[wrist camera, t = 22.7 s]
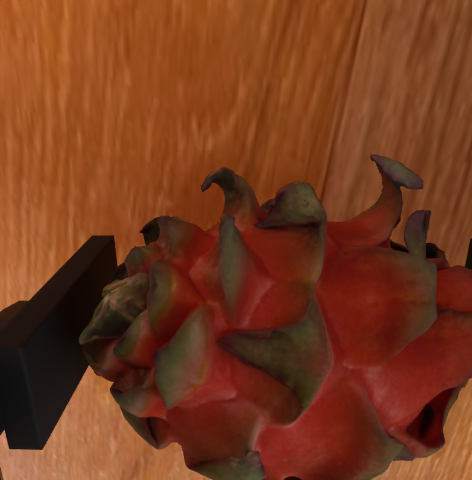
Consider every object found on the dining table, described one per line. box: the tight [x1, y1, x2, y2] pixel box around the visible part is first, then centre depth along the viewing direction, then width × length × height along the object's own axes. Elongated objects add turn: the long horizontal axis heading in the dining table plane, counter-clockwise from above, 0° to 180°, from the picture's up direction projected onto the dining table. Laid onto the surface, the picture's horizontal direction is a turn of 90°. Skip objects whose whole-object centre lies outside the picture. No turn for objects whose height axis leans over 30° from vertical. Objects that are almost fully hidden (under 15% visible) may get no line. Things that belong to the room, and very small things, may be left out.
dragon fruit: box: [79, 155, 472, 480], centre depth 12 cm, size 8×8×12 cm
